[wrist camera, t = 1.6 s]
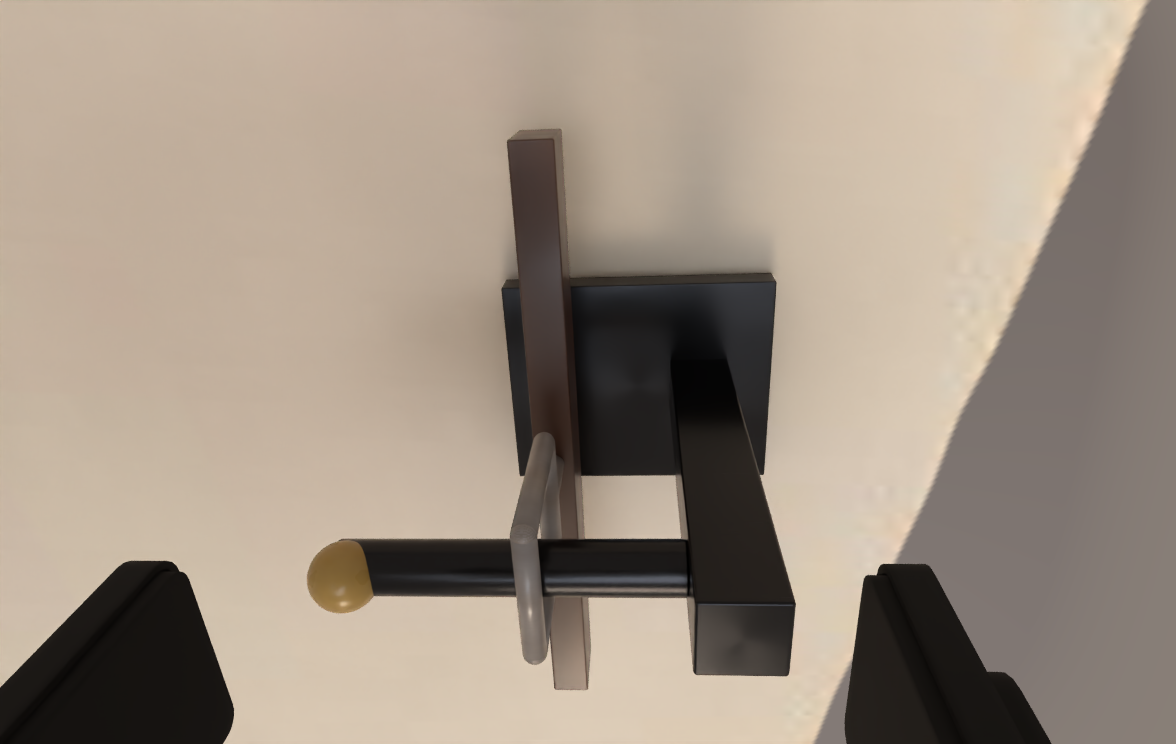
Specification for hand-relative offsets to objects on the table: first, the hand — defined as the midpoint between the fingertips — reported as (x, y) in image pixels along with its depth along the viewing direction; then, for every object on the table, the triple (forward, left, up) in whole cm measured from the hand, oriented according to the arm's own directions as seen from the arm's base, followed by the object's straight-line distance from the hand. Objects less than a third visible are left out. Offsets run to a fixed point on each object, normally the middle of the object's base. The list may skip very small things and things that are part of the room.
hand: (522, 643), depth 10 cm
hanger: (-1, -6, -17) cm, 18 cm away
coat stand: (0, -6, -22) cm, 23 cm away
